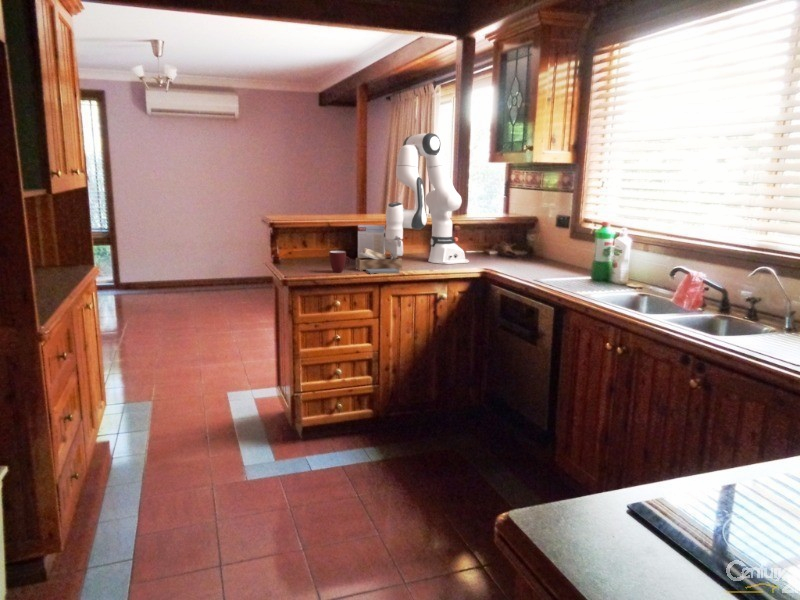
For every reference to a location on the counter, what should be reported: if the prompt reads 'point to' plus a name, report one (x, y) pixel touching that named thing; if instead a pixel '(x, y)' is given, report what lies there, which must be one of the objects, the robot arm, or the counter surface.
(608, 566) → the counter surface
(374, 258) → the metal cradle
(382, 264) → the tan patterned box
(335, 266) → the mug
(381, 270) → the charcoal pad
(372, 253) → the birch bar
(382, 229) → the cracker box
